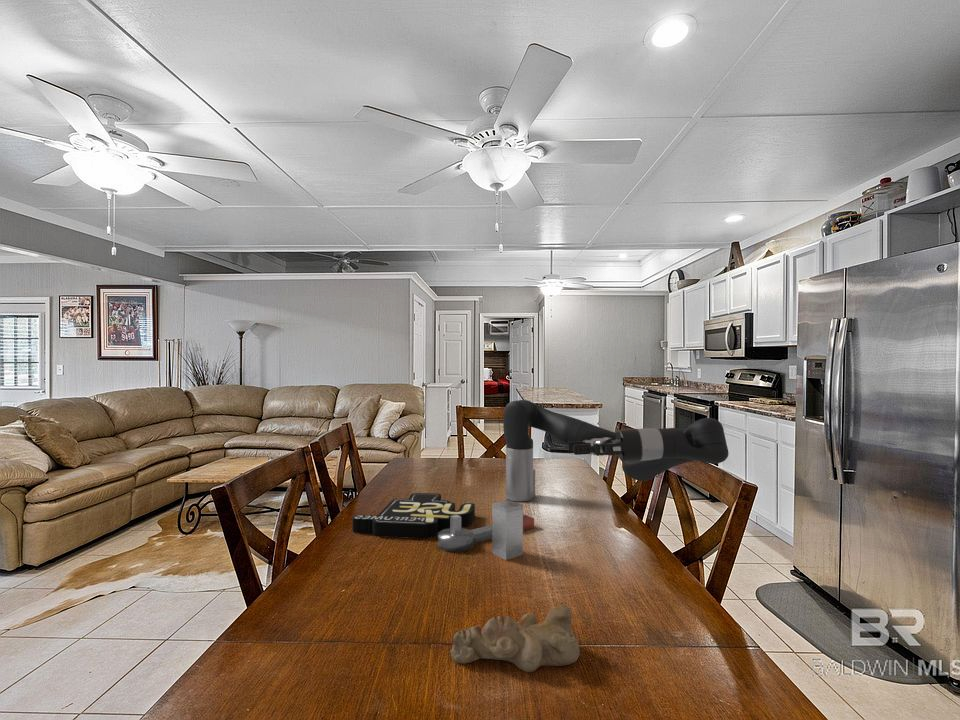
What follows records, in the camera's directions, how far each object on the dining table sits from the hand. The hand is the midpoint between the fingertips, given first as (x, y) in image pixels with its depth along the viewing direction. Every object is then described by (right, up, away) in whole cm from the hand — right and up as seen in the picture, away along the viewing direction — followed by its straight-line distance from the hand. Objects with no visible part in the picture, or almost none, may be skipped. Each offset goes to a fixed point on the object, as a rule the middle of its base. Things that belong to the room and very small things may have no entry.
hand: (570, 448), depth 116 cm
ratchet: (-20, -26, +12) cm, 35 cm away
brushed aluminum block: (-15, -26, +1) cm, 30 cm away
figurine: (-17, -26, -39) cm, 49 cm away
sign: (-40, -26, +26) cm, 54 cm away
